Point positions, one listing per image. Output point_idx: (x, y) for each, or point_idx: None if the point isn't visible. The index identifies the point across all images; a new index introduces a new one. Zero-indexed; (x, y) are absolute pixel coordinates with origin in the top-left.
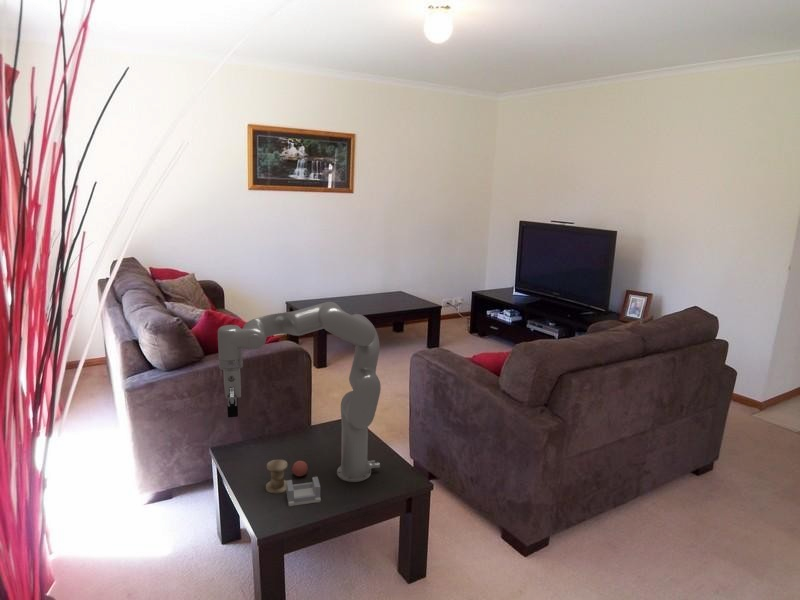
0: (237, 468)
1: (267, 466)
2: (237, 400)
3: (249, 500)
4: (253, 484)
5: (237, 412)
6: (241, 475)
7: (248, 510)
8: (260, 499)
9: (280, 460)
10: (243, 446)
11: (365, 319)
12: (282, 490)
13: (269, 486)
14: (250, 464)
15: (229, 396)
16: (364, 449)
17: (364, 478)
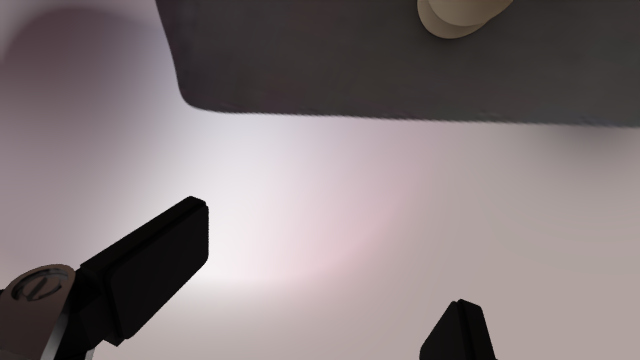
0: (291, 86)
1: (465, 23)
2: (172, 220)
3: (468, 101)
4: (392, 67)
5: (489, 347)
6: (330, 85)
7: (517, 118)
8: (486, 70)
9: None
10: (187, 39)
11: None
12: None
13: (448, 24)
14: (284, 45)
15: (137, 320)
16: None
17: None
